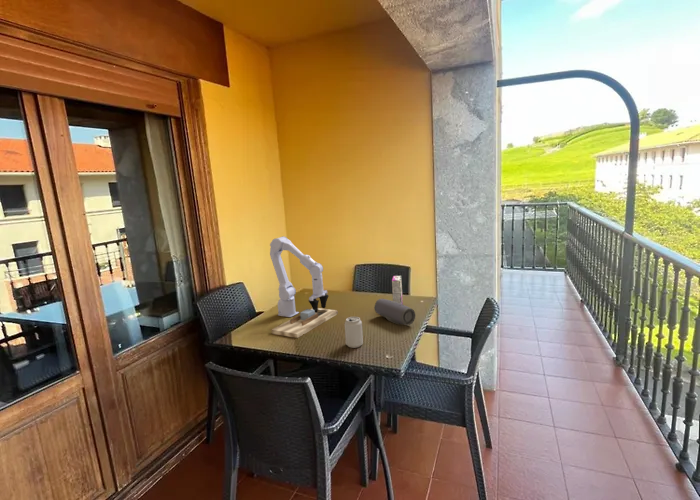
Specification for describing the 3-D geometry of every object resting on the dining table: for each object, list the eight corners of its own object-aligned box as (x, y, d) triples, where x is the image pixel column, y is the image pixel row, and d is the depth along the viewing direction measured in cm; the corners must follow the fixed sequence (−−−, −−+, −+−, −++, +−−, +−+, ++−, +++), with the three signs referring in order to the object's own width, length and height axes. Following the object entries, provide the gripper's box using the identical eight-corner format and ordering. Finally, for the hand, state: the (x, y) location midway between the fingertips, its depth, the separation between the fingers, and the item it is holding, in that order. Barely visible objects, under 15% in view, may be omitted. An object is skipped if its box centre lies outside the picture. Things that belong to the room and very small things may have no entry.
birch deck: (271, 333, 178) (271, 329, 177) (314, 310, 208) (313, 307, 208) (297, 338, 170) (297, 333, 169) (337, 313, 200) (337, 310, 200)
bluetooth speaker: (416, 325, 176) (416, 305, 175) (402, 329, 172) (401, 309, 170) (388, 313, 196) (387, 295, 194) (374, 317, 191) (373, 299, 189)
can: (345, 342, 161) (343, 316, 159) (362, 340, 162) (360, 315, 160) (346, 349, 154) (344, 322, 152) (364, 347, 154) (362, 320, 153)
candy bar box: (394, 302, 214) (393, 275, 211) (402, 302, 213) (401, 275, 210) (392, 308, 203) (391, 280, 201) (401, 308, 202) (400, 280, 200)
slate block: (300, 319, 189) (300, 312, 188) (307, 316, 194) (307, 308, 193) (308, 320, 186) (307, 313, 186) (315, 317, 191) (314, 309, 191)
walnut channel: (290, 323, 184) (290, 319, 184) (305, 315, 195) (305, 311, 195) (303, 325, 180) (303, 321, 180) (318, 317, 191) (318, 313, 191)
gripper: (316, 289, 189) (318, 314, 191) (331, 283, 201) (332, 306, 203) (305, 288, 192) (307, 313, 195) (320, 282, 205) (322, 305, 207)
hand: (319, 309), depth 199 cm, fingers open, 7 cm apart
